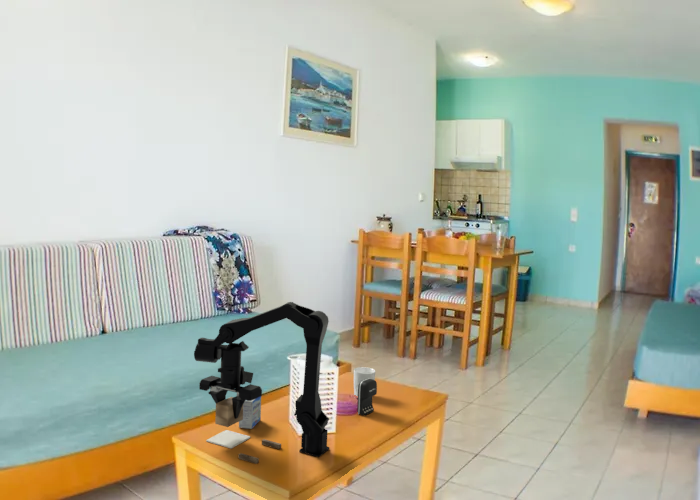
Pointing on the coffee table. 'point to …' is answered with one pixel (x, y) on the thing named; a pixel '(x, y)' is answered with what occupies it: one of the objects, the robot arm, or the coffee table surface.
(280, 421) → the coffee table surface
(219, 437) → the plate
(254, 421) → the medicine box
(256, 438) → the coffee table surface
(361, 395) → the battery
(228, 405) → the block
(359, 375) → the white cup
